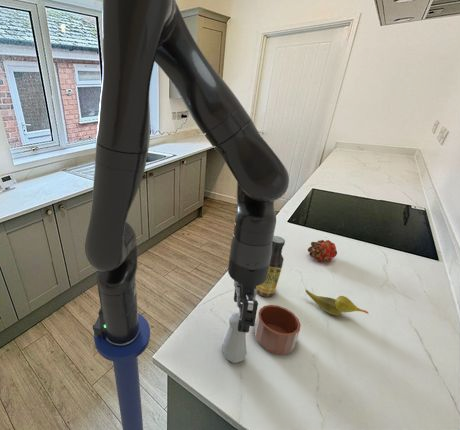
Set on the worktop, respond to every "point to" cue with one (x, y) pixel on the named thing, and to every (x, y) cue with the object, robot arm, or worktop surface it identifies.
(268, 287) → the sauce bottle
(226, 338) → the salt shaker
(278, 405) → the worktop surface
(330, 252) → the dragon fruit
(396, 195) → the worktop surface
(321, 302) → the yellow-green tapered piece
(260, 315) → the cup
